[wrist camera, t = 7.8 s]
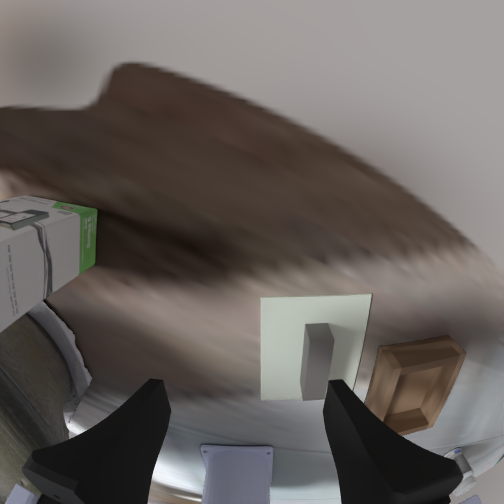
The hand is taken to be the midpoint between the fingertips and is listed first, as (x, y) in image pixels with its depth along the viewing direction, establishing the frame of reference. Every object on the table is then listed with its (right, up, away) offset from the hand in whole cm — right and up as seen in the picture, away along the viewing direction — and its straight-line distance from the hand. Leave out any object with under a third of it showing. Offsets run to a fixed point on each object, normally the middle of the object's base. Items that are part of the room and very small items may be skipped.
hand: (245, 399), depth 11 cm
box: (+15, -7, +12) cm, 21 cm away
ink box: (-16, +8, +9) cm, 20 cm away
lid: (+5, -2, +12) cm, 13 cm away
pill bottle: (+33, -27, +18) cm, 46 cm away
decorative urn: (-26, -5, +13) cm, 29 cm away
